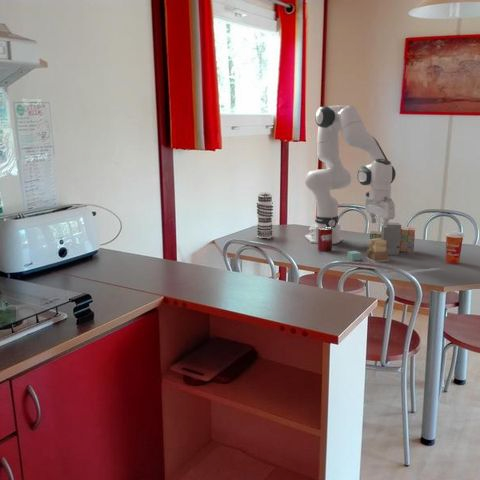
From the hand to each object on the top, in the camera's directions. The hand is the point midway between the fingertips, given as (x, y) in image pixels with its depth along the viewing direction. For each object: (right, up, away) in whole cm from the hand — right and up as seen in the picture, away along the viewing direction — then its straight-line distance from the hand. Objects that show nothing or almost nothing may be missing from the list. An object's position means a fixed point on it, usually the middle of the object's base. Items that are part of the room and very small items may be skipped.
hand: (378, 225), depth 245 cm
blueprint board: (0, -17, +5) cm, 17 cm away
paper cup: (+34, -17, 0) cm, 38 cm away
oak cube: (0, -12, +3) cm, 12 cm away
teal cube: (-11, -17, +4) cm, 20 cm away
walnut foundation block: (0, -16, +3) cm, 16 cm away
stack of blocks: (+12, -13, +22) cm, 28 cm away
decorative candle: (-50, -5, +54) cm, 74 cm away
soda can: (-21, -13, +22) cm, 33 cm away
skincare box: (+9, -14, +14) cm, 22 cm away
